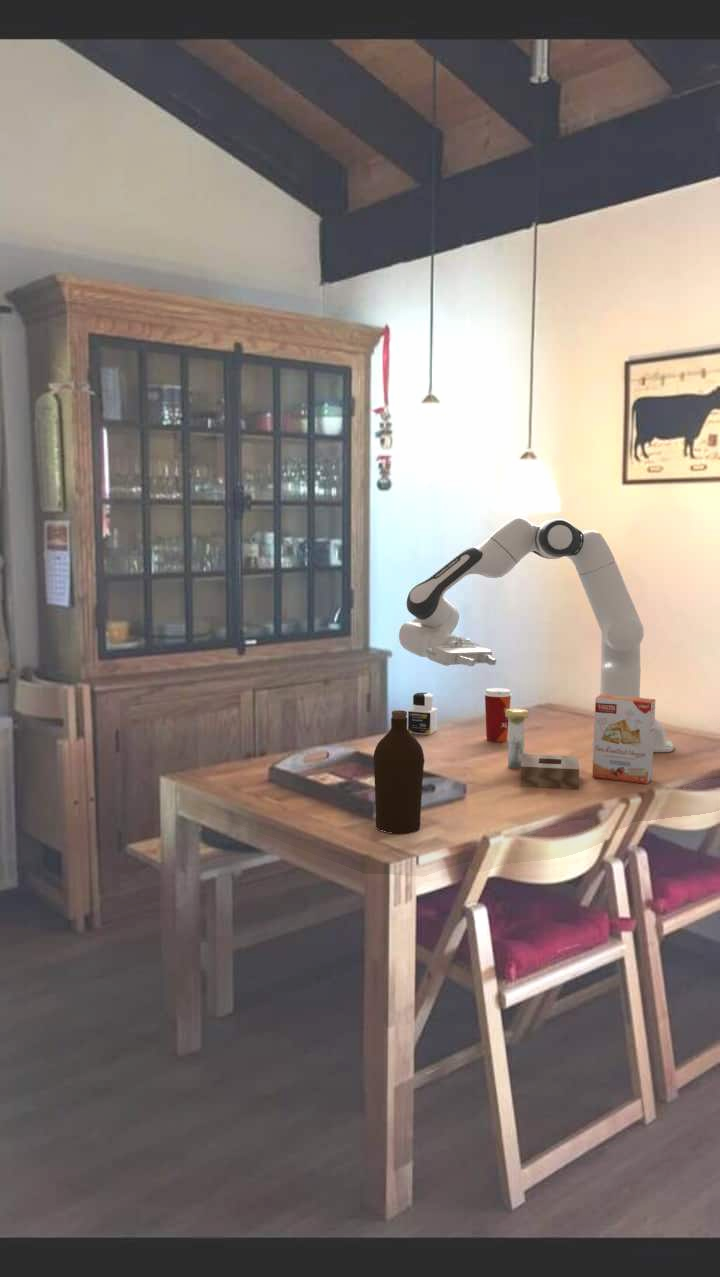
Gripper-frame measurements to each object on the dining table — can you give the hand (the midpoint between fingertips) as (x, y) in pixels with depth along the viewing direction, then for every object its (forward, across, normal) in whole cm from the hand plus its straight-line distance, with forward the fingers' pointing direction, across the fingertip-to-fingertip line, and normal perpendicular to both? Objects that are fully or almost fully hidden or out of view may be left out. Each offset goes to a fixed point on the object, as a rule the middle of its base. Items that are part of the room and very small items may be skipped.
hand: (483, 662), depth 283 cm
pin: (+17, 0, +24) cm, 29 cm away
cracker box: (+43, +9, +18) cm, 48 cm away
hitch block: (+32, -6, +21) cm, 39 cm away
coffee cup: (-6, +23, +26) cm, 36 cm away
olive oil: (+32, -62, +25) cm, 75 cm away
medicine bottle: (-28, +16, +31) cm, 45 cm away
